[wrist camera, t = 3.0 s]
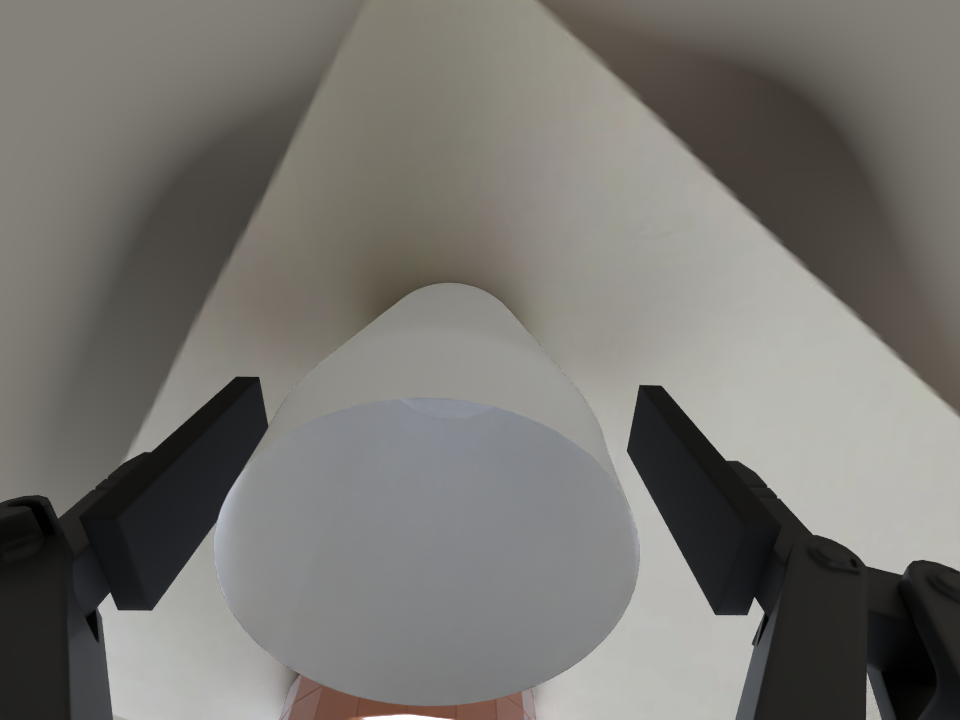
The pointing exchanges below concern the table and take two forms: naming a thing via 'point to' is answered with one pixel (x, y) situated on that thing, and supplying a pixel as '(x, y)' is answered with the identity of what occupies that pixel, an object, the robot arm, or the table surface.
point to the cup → (430, 513)
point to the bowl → (395, 706)
